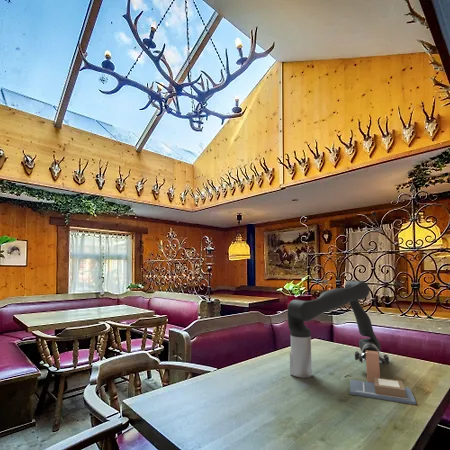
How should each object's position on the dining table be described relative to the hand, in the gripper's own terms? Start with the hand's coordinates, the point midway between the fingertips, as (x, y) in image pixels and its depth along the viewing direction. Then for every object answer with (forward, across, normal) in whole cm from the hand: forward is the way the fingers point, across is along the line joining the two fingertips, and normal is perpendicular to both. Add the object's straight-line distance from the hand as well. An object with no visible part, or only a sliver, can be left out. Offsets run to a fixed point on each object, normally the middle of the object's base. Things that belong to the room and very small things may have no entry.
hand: (372, 361), depth 136 cm
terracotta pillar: (+4, 0, +7) cm, 8 cm away
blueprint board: (+16, +2, +7) cm, 18 cm away
